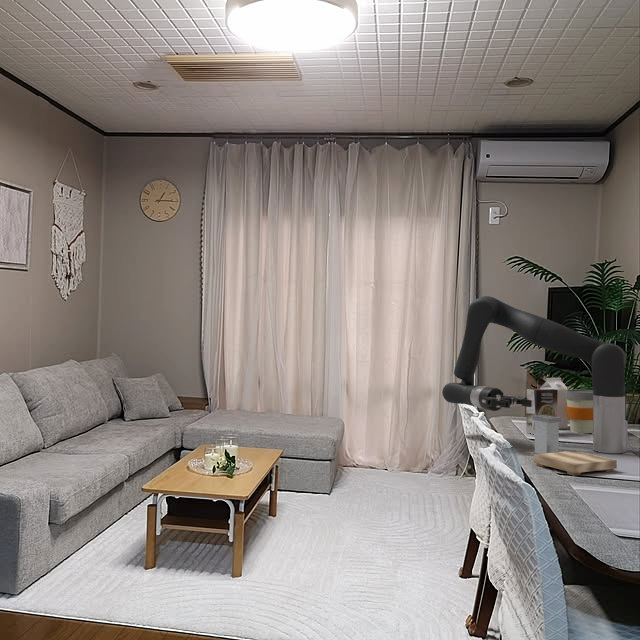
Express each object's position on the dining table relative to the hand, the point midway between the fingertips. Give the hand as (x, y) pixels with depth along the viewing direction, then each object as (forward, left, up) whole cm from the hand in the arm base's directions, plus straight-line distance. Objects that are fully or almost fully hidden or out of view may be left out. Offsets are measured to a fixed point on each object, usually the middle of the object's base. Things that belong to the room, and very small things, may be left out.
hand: (520, 404), depth 213 cm
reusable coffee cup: (-47, -21, -15) cm, 54 cm away
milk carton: (-44, -33, -15) cm, 57 cm away
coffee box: (-30, -24, -15) cm, 41 cm away
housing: (0, +11, -14) cm, 18 cm away
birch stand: (+4, +26, -14) cm, 30 cm away
